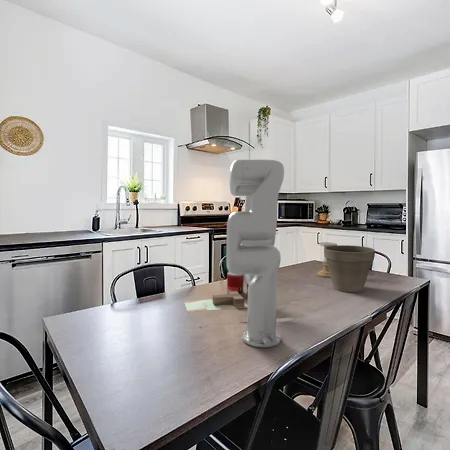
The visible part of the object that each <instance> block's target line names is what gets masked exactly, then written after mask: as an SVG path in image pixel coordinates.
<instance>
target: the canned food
mask: <svg viewBox="0 0 450 450" xmlns="http://www.w3.org/2000/svg"><path fill="white" fill-rule="evenodd" d="M226 278H227V279H226V287H227V288H226V290H227V293H226V294H228V291H237V292H238V293H239V294H240V295H241V296H242V295H243V294H244V283H245V282H244V274H232V273H230V272H229V271H227V274H226Z"/></svg>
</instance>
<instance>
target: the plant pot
mask: <svg viewBox="0 0 450 450" xmlns="http://www.w3.org/2000/svg"><path fill="white" fill-rule="evenodd" d="M375 255H376V249H374V248H372V247H369V246H361V245H350V244H349V245H347V244H346V245H343V244H342V245H340V244H339V245H338V244H337V245H335V246H327V247H324V246H323V258H324V257H325V258H326V260H327V265H328V269H329V272H330V276H331V278H330V280H331V283H332V286H333V289H334V290H337V291H340V292H343V291H344V292H345V293H360V292H362V291H363V290H364V289H365V285H366V282H367V279H368V275H369V273H370V269H371V266H372V262H373V261H374V260H375Z"/></svg>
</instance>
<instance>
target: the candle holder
mask: <svg viewBox="0 0 450 450" xmlns="http://www.w3.org/2000/svg"><path fill="white" fill-rule="evenodd" d="M318 244H319V245H320V247H321V246H322V247H323V248H324V247H327V246H335V245H338V243H336V242H328V241H327V242H319V243H318ZM322 262H323V263H322V266H323V269H321V270H319V271H317V272H316V276H318V277H321V278H329V279H331V276H330V272H329V269H328V265H327V260H326V258H325V257H324V256H323V259H322Z"/></svg>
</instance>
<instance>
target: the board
mask: <svg viewBox="0 0 450 450" xmlns="http://www.w3.org/2000/svg"><path fill="white" fill-rule="evenodd" d="M202 300H203V299H200V300H198V299H197V300H184V301H183V303H184V305H185V304H194V303H203V302H202ZM219 306H220V308H221V309H222V310H233V309H245V308H247V309H248V303H246V302H245V301H244V307H236V308H235V307H234V306H233V305H219ZM186 311H187V313H194V312H207V309H206V307H204V308H190V309H186Z"/></svg>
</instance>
